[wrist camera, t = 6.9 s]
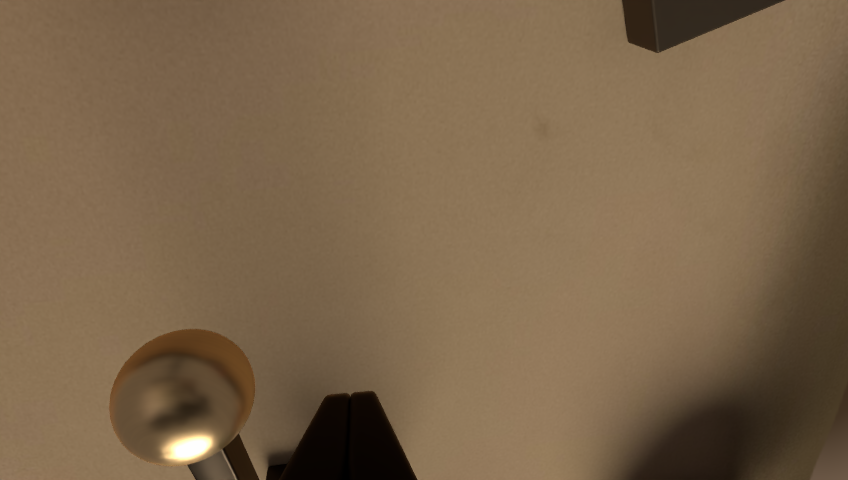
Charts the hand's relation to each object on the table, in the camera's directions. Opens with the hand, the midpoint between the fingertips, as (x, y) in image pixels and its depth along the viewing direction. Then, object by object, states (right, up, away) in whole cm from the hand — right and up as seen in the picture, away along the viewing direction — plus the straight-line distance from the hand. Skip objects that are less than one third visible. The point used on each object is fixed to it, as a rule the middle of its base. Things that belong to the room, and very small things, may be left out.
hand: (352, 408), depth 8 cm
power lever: (-4, -10, +11) cm, 15 cm away
